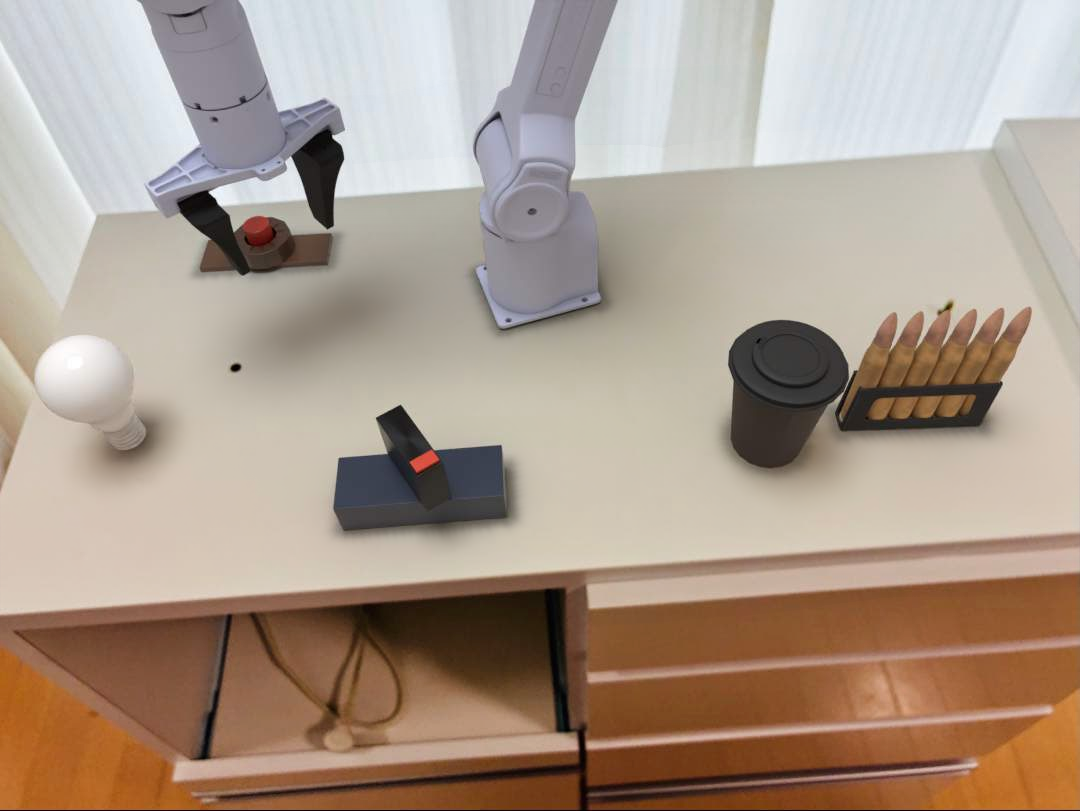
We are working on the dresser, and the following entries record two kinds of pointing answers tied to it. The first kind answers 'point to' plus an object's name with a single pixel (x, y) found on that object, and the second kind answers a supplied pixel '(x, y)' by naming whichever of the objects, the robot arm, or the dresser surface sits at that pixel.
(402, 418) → the black block red marker
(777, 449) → the coffee cup
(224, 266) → the block
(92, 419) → the lightbulb
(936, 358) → the ammunition clip
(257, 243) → the release button
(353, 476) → the switch base
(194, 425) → the dresser surface
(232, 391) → the dresser surface
